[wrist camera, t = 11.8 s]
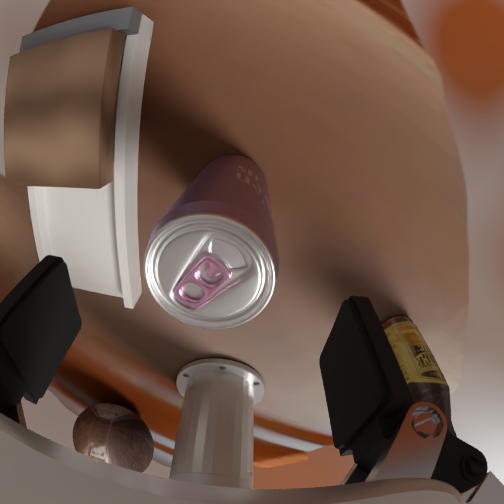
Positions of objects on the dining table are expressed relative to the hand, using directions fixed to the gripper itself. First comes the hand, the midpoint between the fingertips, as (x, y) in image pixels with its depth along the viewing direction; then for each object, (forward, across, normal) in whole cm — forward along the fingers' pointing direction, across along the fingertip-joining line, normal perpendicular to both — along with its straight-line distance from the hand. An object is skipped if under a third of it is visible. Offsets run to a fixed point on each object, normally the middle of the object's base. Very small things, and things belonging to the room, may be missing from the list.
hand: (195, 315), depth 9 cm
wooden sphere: (+17, +17, +44) cm, 50 cm away
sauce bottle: (+18, -22, +16) cm, 32 cm away
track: (+18, +15, 0) cm, 23 cm away
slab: (+16, +15, -6) cm, 23 cm away
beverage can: (+18, 0, +1) cm, 18 cm away
